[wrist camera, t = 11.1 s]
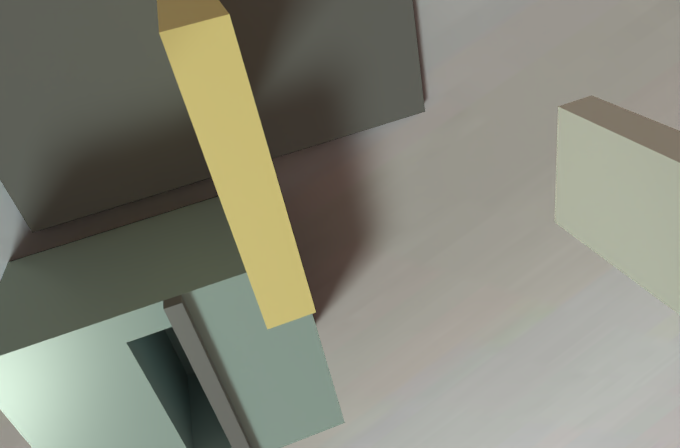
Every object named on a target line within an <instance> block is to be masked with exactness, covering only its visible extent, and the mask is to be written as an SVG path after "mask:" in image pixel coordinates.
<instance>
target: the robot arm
mask: <svg viewBox="0 0 680 448" xmlns="http://www.w3.org/2000/svg"><path fill="white" fill-rule="evenodd" d="M555 223H557V224H558V225H559V226H561V227H562V228H563V229H565V230H566V231H567V232H569V233H570V234H571V235H573V236H574V237H575V238H577V239H578V240H579V241H581V242H582V243H583V244H585V245H586V246H587V247H589V248H590V249H592V250H593V251H594V252H596V253H597V254H598V255H600V256H601V257H602V258H604V259H605V260H606V261H608V262H609V263H610V264H612V265H613V266H614V267H616V268H617V269H618V270H620V271H621V272H622V273H624V274H625V275H626V276H628V277H629V278H631V279H632V280H633V281H635V282H636V283H637V284H639V285H640V286H641V287H643V288H644V289H645V290H647V291H648V292H649V293H651V294H652V295H653V296H655V297H656V298H657V299H659V300H660V301H661V302H663V303H664V304H665V305H667V306H668V307H670V308H671V309H672V310H674V311H675V312H676V313H678V314H679V315H680V131H678V130H676V129H673V128H671V127H668V126H666V125H663V124H661V123H659V122H656V121H654V120H651V119H649V118H646V117H644V116H641V115H639V114H636V113H634V112H631V111H629V110H626V109H624V108H621V107H619V106H616V105H614V104H611V103H609V102H606V101H604V100H602V99H599V98H597V97H594V96H589V97H586V98H583V99H580V100H577V101H574V102H571V103H567V104H564V105H561V106H558V129H557V161H556V194H555Z"/></svg>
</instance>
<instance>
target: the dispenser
mask: <svg viewBox="0 0 680 448" xmlns="http://www.w3.org/2000/svg"><path fill="white" fill-rule="evenodd" d="M0 410H1V411H2V412H3V413H4V414H5V416H6V417H7V418H8V419H9V420H10V422H11V423H12V424H13V425H14V426H15V428H16V429H17V430H18V431H19V432H20V434H21V435H22V436H23V437H24V438H25V440H26V441H27V442H28V443H29V444H30V446H31V447H32V448H281V447H284V446H286V445H289V444H292V443H294V442H297V441H299V440H302V439H304V438H307V437H309V436H312V435H315V434H317V433H320V432H322V431H325V430H327V429H330V428H332V427H335V426H338V425H340V424H343V423H345V422H344V419H343V416H342V412H341V409H340V406H339V402H338V399H337V395H336V392H335V389H334V385H333V382H332V378H331V375H330V372H329V368H328V365H327V362H326V358H325V355H324V351H323V348H322V345H321V341H320V338H319V335H318V331H317V328H316V324H315V321H314V318H313V314H310V315H307V316H304V317H302V318H299V319H296V320H293V321H290V322H287V323H285V324H282V325H279V326H276V327H273V328H271V329H268V330H267V327H266V324H265V322H264V319H263V316H262V313H261V311H260V308H259V305H258V302H257V300H256V297H255V294H254V291H253V289H252V286H251V283H250V281H249V278H248V275H247V272H246V270H245V267H244V264H243V261H242V259H241V256H240V253H239V250H238V248H237V245H236V242H235V239H234V237H233V234H232V231H231V229H230V226H229V223H228V220H227V218H226V215H225V212H224V209H223V207H222V204H221V201H220V198H219V196H218V197H215V198H211V199H208V200H205V201H202V202H199V203H195V204H192V205H189V206H186V207H183V208H180V209H176V210H173V211H170V212H167V213H164V214H160V215H157V216H154V217H151V218H148V219H145V220H141V221H138V222H135V223H132V224H129V225H125V226H122V227H119V228H116V229H113V230H110V231H106V232H103V233H100V234H97V235H94V236H90V237H87V238H84V239H81V240H78V241H75V242H71V243H68V244H65V245H62V246H59V247H55V248H52V249H49V250H46V251H43V252H40V253H36V254H33V255H30V256H27V257H24V258H20V259H17V260H14V261H11V262H8V264H7V266H6V269H5V271H4V274H3V276H2V279H1V281H0Z"/></svg>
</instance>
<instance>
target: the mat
mask: <svg viewBox="0 0 680 448" xmlns="http://www.w3.org/2000/svg"><path fill="white" fill-rule="evenodd" d="M219 1H220V2H221V4H222V5H223V6H224V8H225V9H226V10H227V12H228V13H229V14H230V18H231V21H232V25H233V28H234V32H235V35H236V39H237V42H238V45H239V49H240V52H241V56H242V59H243V63H244V66H245V70H246V73H247V76H248V80H249V83H250V87H251V90H252V94H253V97H254V100H255V104H256V107H257V111H258V114H259V118H260V121H261V125H262V128H263V131H264V135H265V138H266V142H267V145H268V149H269V152H270V156H271V159H273V158H276V157H279V156H282V155H286V154H289V153H292V152H295V151H299V150H302V149H305V148H308V147H312V146H315V145H318V144H321V143H325V142H328V141H331V140H334V139H338V138H341V137H344V136H347V135H351V134H354V133H357V132H360V131H364V130H367V129H370V128H373V127H377V126H380V125H383V124H386V123H389V122H393V121H396V120H399V119H402V118H406V117H409V116H412V115H415V114H419V113H422V112H425V108H424V99H423V90H422V81H421V72H420V63H419V54H418V45H417V36H416V27H415V18H414V9H413V0H219ZM211 177H212V176H211V174H210V171H209V168H208V166H207V163H206V160H205V157H204V155H203V152H202V149H201V146H200V144H199V141H198V138H197V135H196V133H195V130H194V127H193V124H192V122H191V119H190V116H189V113H188V111H187V108H186V105H185V103H184V100H183V97H182V94H181V92H180V89H179V86H178V83H177V81H176V78H175V75H174V72H173V70H172V67H171V64H170V61H169V59H168V56H167V53H166V51H165V48H164V45H163V42H162V40H161V37H160V34H159V26H158V11H157V0H0V180H1V182H2V183H3V185H4V187H5V188H6V190H7V192H8V193H9V195H10V197H11V198H12V200H13V201H14V203H15V205H16V206H17V208H18V210H19V211H20V213H21V215H22V216H23V218H24V220H25V221H26V223H27V224H28V226H29V228H30V229H31V231H32V233H33V232H36V231H39V230H42V229H46V228H49V227H52V226H55V225H59V224H62V223H65V222H68V221H72V220H75V219H78V218H81V217H85V216H88V215H91V214H94V213H98V212H101V211H104V210H107V209H111V208H114V207H117V206H120V205H124V204H127V203H130V202H133V201H137V200H140V199H143V198H146V197H150V196H153V195H156V194H159V193H162V192H166V191H169V190H172V189H175V188H179V187H182V186H185V185H188V184H192V183H195V182H198V181H201V180H205V179H208V178H211Z"/></svg>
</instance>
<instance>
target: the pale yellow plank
mask: <svg viewBox="0 0 680 448" xmlns="http://www.w3.org/2000/svg"><path fill="white" fill-rule="evenodd" d="M157 11H158V26H159V34H160V37H161V40H162V42H163V45H164V48H165V51H166V53H167V56H168V59H169V61H170V64H171V67H172V70H173V72H174V75H175V78H176V81H177V83H178V86H179V89H180V92H181V94H182V97H183V100H184V103H185V105H186V108H187V111H188V113H189V116H190V119H191V122H192V124H193V127H194V130H195V133H196V135H197V138H198V141H199V144H200V146H201V149H202V152H203V155H204V157H205V160H206V163H207V166H208V168H209V171H210V174H211V176H212V179H213V182H214V185H215V187H216V190H217V193H218V196H219V198H220V201H221V204H222V207H223V209H224V212H225V215H226V218H227V220H228V223H229V226H230V229H231V231H232V234H233V237H234V239H235V242H236V245H237V248H238V250H239V253H240V256H241V259H242V261H243V264H244V267H245V270H246V272H247V275H248V278H249V281H250V283H251V286H252V289H253V291H254V294H255V297H256V300H257V302H258V305H259V308H260V311H261V313H262V316H263V319H264V322H265V324H266V327H267V330H268V329H271V328H273V327H276V326H279V325H282V324H285V323H287V322H290V321H293V320H296V319H299V318H302V317H304V316H307V315H310V314H313V313H316V310H315V307H314V304H313V300H312V297H311V293H310V290H309V286H308V283H307V279H306V276H305V273H304V269H303V266H302V262H301V259H300V255H299V252H298V249H297V245H296V242H295V238H294V235H293V231H292V228H291V224H290V221H289V218H288V214H287V211H286V207H285V204H284V200H283V197H282V193H281V190H280V187H279V183H278V180H277V176H276V173H275V169H274V166H273V162H272V159H271V156H270V152H269V149H268V145H267V142H266V138H265V135H264V131H263V128H262V125H261V121H260V118H259V114H258V111H257V107H256V104H255V100H254V97H253V94H252V90H251V87H250V83H249V80H248V76H247V73H246V70H245V66H244V63H243V59H242V56H241V52H240V49H239V45H238V42H237V39H236V35H235V32H234V28H233V25H232V21H231V18H230V14H229V13H228V12H227V10H226V9H225V8H224V6H223V5H222V4H221V2H220V1H219V0H157Z"/></svg>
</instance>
